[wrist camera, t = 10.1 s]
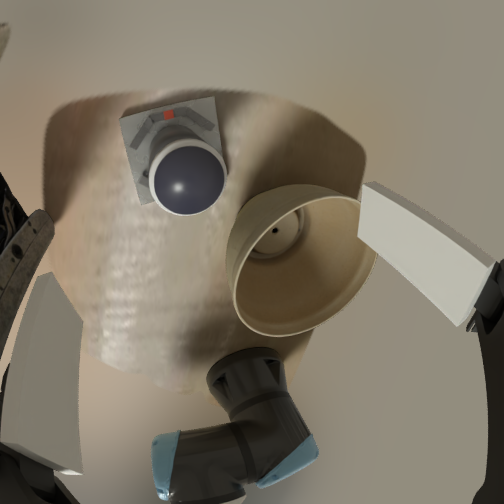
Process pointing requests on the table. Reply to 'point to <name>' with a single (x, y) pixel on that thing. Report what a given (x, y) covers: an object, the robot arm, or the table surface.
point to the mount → (154, 120)
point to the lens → (184, 171)
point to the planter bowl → (296, 259)
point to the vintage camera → (18, 254)
